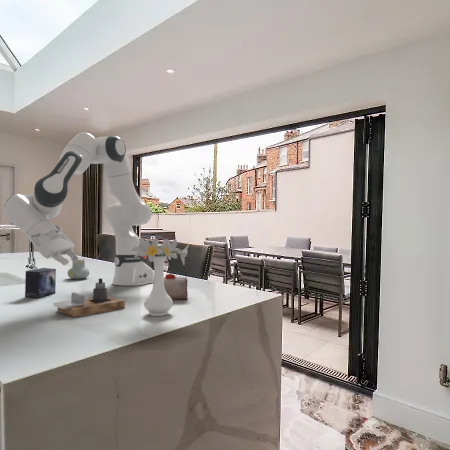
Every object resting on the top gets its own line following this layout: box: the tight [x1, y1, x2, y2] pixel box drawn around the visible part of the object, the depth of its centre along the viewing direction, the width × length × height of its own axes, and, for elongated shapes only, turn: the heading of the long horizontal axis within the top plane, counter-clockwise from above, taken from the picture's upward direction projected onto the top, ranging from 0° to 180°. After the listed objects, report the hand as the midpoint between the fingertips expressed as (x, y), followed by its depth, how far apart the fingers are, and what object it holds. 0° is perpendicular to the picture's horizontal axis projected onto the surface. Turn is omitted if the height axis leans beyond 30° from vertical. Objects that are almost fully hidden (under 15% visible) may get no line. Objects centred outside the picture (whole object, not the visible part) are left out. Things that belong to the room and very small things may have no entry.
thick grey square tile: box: [52, 291, 85, 309], centre depth 118 cm, size 7×7×3 cm
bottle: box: [92, 277, 108, 303], centre depth 126 cm, size 4×4×10 cm
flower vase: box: [132, 237, 190, 317], centre depth 119 cm, size 13×18×25 cm
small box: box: [24, 267, 57, 299], centre depth 146 cm, size 11×6×10 cm, turn 168°
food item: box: [152, 272, 189, 301], centre depth 143 cm, size 14×8×10 cm, turn 98°
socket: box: [57, 295, 126, 319], centre depth 124 cm, size 18×12×3 cm, turn 138°
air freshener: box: [67, 258, 90, 280], centre depth 188 cm, size 11×8×10 cm
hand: (72, 262), depth 126 cm, fingers open, 8 cm apart
